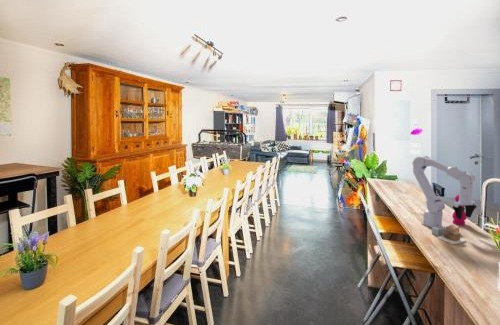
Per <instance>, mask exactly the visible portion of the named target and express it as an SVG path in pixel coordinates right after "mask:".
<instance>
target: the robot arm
mask: <svg viewBox="0 0 500 325" xmlns="http://www.w3.org/2000/svg"><path fill="white" fill-rule="evenodd" d="M427 167H433V168H436V169H438V170H441V171H442V172H445V173H446V176H448V177H451V178H452V179H455V180H457V181H458V182H459V194H458V195H459V201H458V202H456V201H455V202H454V203H453V205H452V209H453V210H454V211H455V213H456V218H458V219H461V218H462V213H463V211H465V214H466V218H472V215H473V212H474V211H475V210H476V208H478V207H477V205H476V203H477V202H476V200H473V188H474V187H473V186H474V182H475V180H476V176H475V175H474V174H473V173H472V172H467V171H465V170H461V169H460V168H458V166H448V165H446V164H444V163H442V162H440V161H438V160H437V159H434V158H433V157H430V156H428V155H423V156H417V157H415V158H414V159H413V161H412V173H413V175H414V177H415V179H416V181H417V183H418V184H419V187H420V188H421V191H422V194H424V196H425V198H426V200H425V204H426V210H425V211H424V212H423V219H422V220H423V221H422V223H421V224H422V225H423V226H426V227H429V228H431V229H432V227H438V226H441V227H444V228H446V226H445V225H443V215H444V214H443V210H444V209H445V208H446V205H445V203H444V202H443V201H442V200H441V199H440V197H439V196H438V195H436V193H435V191H434V189H433V188H432V185H431V183H430V182H429V180H428V178H427V176H426V174H425V170H426V169H427ZM461 206H464V208H462V207H461Z"/></svg>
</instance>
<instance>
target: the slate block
mask: <svg viewBox="0 0 500 325" xmlns="http://www.w3.org/2000/svg"><path fill="white" fill-rule="evenodd" d="M444 230H447V228H446V227H441V226H438V227H432V228H431V234H432V235H434V236H436V237H438V236H443V235H444Z"/></svg>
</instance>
